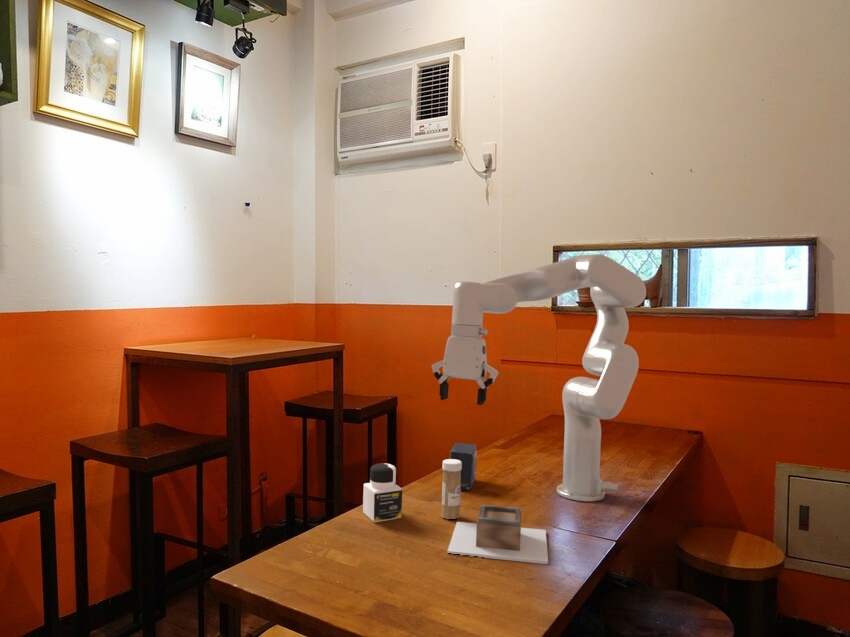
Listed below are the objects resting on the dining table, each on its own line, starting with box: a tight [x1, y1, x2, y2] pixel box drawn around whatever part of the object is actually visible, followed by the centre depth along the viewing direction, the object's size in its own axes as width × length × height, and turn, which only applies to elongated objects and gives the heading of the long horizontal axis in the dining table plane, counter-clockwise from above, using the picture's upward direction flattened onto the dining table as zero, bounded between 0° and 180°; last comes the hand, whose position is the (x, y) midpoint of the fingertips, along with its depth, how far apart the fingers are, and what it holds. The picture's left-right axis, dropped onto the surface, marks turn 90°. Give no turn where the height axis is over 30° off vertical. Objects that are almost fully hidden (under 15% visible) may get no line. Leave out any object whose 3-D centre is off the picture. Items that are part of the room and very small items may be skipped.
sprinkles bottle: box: [440, 458, 462, 520], centre depth 138 cm, size 5×5×13 cm
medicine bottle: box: [362, 462, 403, 523], centre depth 138 cm, size 7×7×12 cm
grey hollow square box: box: [476, 503, 522, 551], centre depth 124 cm, size 9×9×6 cm
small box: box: [449, 442, 477, 492], centre depth 162 cm, size 11×6×10 cm, turn 168°
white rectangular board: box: [446, 521, 549, 565], centre depth 124 cm, size 20×16×1 cm
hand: (462, 401), depth 143 cm, fingers open, 9 cm apart
